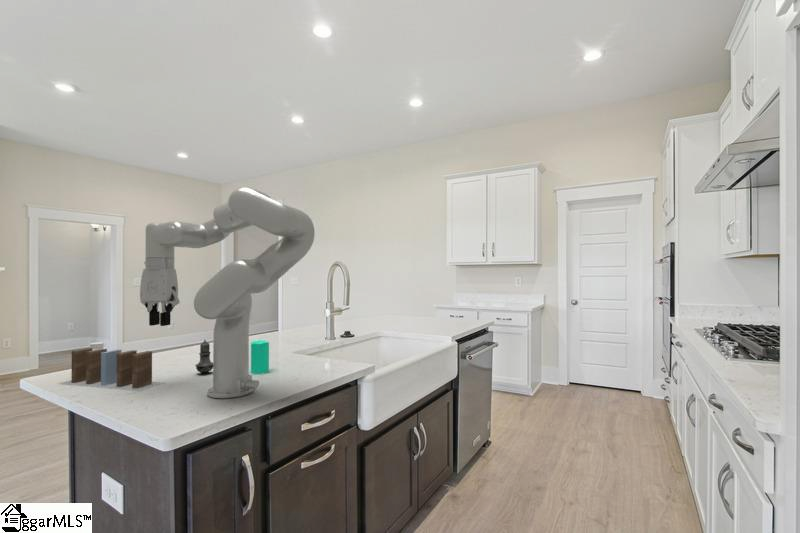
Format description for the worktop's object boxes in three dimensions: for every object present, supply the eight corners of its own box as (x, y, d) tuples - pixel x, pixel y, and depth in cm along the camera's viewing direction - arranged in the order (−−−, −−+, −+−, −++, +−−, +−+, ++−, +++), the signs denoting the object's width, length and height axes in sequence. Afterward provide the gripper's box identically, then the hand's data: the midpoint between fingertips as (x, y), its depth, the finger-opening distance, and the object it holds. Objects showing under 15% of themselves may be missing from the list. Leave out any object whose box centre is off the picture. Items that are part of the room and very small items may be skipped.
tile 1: (151, 383, 124) (152, 351, 124) (137, 388, 119) (137, 354, 119) (147, 383, 125) (147, 351, 125) (132, 387, 120) (132, 354, 120)
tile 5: (92, 378, 130) (92, 348, 130) (75, 383, 125) (76, 351, 125) (88, 378, 131) (88, 347, 131) (71, 382, 126) (71, 350, 126)
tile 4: (106, 379, 129) (106, 348, 129) (90, 384, 124) (90, 351, 124) (102, 379, 129) (102, 348, 129) (86, 383, 124) (86, 351, 124)
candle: (251, 370, 142) (251, 336, 142) (269, 369, 144) (269, 335, 144) (250, 374, 136) (250, 339, 136) (268, 373, 138) (268, 338, 138)
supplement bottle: (92, 374, 137) (92, 344, 137) (83, 373, 139) (83, 343, 139) (110, 371, 142) (110, 342, 142) (100, 369, 144) (100, 341, 144)
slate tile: (121, 381, 127) (121, 349, 127) (105, 385, 122) (105, 352, 122) (116, 380, 128) (117, 349, 128) (100, 385, 123) (101, 352, 123)
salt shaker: (206, 377, 133) (206, 341, 133) (191, 376, 134) (191, 340, 134) (218, 373, 139) (218, 338, 139) (203, 372, 140) (203, 337, 140)
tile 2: (136, 382, 126) (136, 350, 126) (121, 387, 121) (121, 353, 121) (131, 382, 126) (132, 350, 126) (116, 386, 121) (116, 353, 121)
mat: (165, 383, 125) (165, 382, 125) (139, 392, 117) (139, 391, 117) (86, 377, 133) (86, 376, 133) (57, 384, 125) (57, 383, 125)
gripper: (127, 264, 119) (126, 326, 119) (172, 263, 115) (172, 327, 115) (148, 264, 126) (148, 322, 126) (192, 264, 122) (192, 324, 122)
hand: (159, 324), depth 120 cm, fingers open, 3 cm apart
